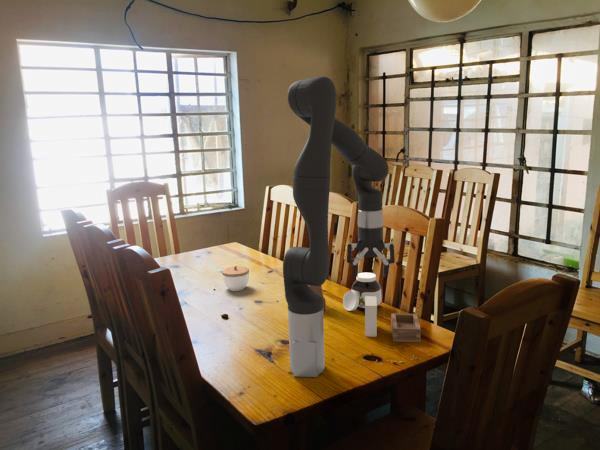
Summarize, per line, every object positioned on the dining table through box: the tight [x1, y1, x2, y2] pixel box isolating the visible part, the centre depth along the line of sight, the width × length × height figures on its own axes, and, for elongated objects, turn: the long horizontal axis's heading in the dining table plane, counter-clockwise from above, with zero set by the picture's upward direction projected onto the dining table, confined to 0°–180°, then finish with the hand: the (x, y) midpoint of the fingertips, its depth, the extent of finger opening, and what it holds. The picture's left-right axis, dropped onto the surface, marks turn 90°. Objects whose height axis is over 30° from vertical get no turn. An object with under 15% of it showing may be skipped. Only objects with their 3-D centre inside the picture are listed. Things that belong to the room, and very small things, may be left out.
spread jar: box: [342, 271, 382, 312], centre depth 169 cm, size 12×11×12 cm
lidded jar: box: [221, 265, 250, 292], centre depth 194 cm, size 11×11×9 cm
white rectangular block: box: [364, 296, 378, 338], centre depth 151 cm, size 8×4×10 cm, turn 172°
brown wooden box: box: [390, 312, 422, 343], centre depth 149 cm, size 12×8×4 cm, turn 172°
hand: (370, 276), depth 148 cm, fingers open, 8 cm apart
